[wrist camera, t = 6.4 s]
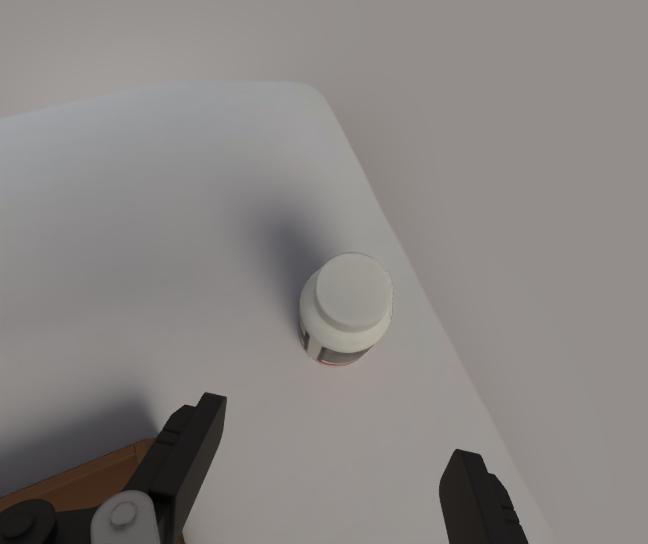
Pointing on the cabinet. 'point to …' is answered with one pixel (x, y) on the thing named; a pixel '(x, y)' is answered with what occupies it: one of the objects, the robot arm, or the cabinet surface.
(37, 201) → the cabinet surface
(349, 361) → the pill bottle
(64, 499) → the tray
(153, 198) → the cabinet surface
